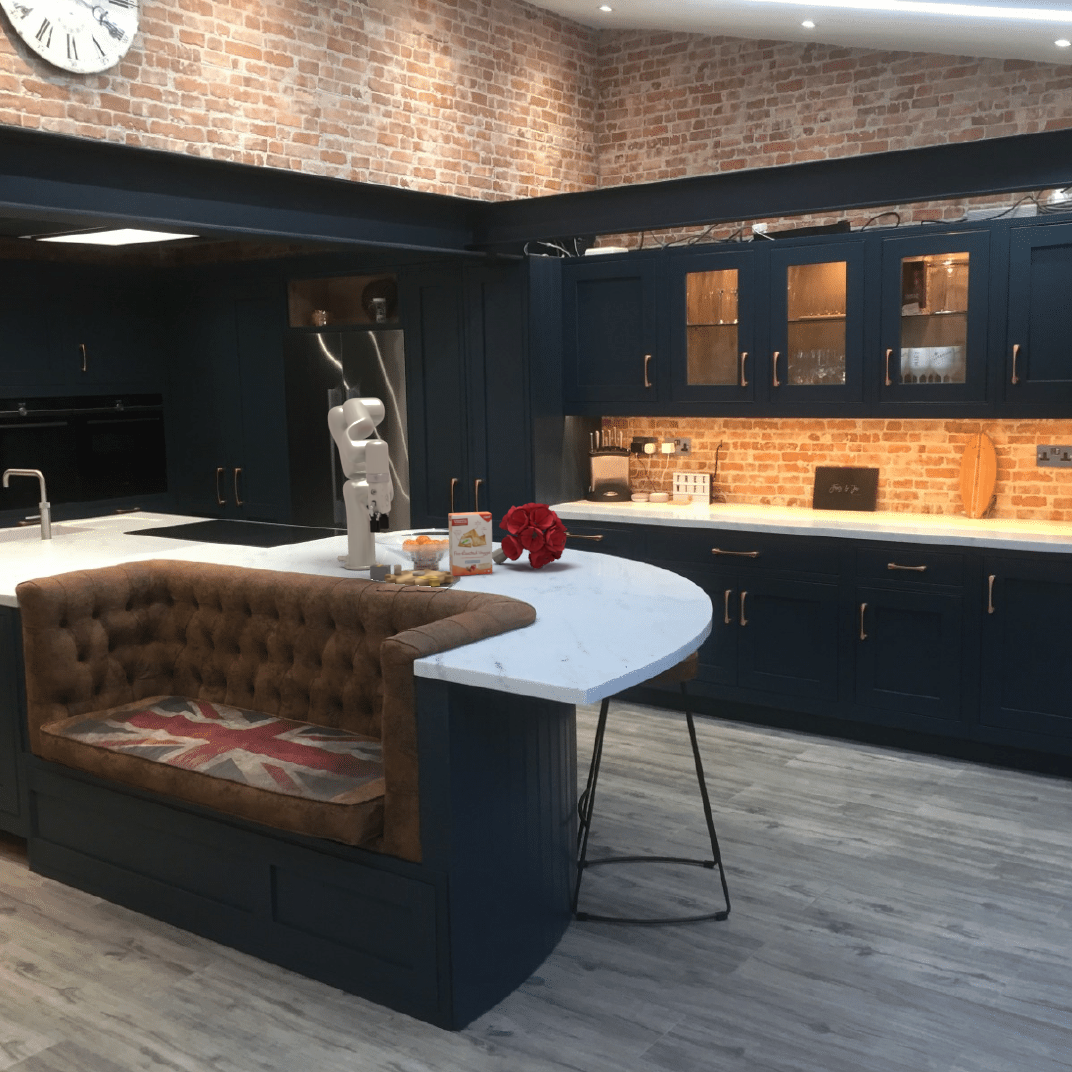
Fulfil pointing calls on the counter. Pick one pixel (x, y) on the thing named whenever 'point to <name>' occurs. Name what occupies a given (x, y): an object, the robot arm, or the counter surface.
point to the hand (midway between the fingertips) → (379, 530)
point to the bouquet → (532, 535)
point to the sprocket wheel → (418, 577)
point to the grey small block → (379, 571)
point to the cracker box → (470, 543)
